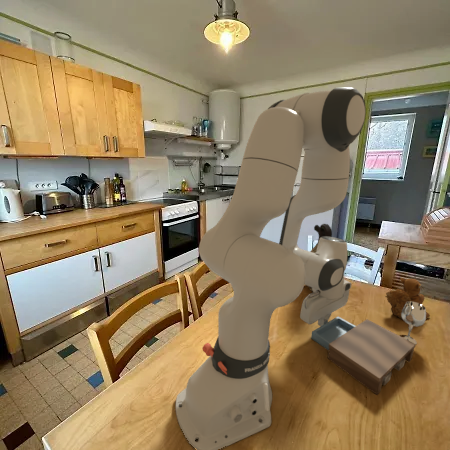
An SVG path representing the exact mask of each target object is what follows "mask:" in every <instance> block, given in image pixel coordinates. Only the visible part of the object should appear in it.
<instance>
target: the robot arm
mask: <svg viewBox="0 0 450 450" xmlns="http://www.w3.org/2000/svg"><path fill="white" fill-rule="evenodd" d="M366 111H367V109H366V102H365V99H364V96H363V95H362V93H361V92H360V91H359V90H358V89H357V88H354V87H349V86H348V87H345V86H343V87H334V88H333V89H330V90H329V89H327V90H319V91H315V92H305V93H302V94H298V95H295V96H292V97H290V98H287V99H280V100H279V101H276V102H275V103H273V104H271V105H270V106H268V108H267V109H265V110H264V111H262V113H260V114H259V116H258V117H257V118H256V121H255V124H254V125H253V128H252V130H251V132H250V135H249V138H248V140H247V143H246V146H245V150H244V153H243V157H242V161H241V165H240V169H239V172H238V177H237V180H236V183H235V187H234V190H233V194H232V197H231V200H230V201H229V203H228V206H227V208H226V209H225V211H224V213H223V214H222V216H221V218H220V220H219V221H218V222H217V223H216V224H215V225H214V226H213V227H212V228H210V229H208V230H207V231H206V232H205V233H204V234H203V236H202V238H201V240H200V241H199V245H198V252H199V257H200V259H201V260H202V261H203V263H204V264H205V265H206V266H207V268H209V270H210V271H211V272H213V273H214V274H216V275H217V276H218V277H220V278H221V279H223V280H224V281H227V283H229V284H230V286H231V288H232V291H233V296H231V297H229V298H228V299H226V300H225V302H224V303H222V305H221V306H220V308H219V310H218V314H217V316H218V317H217V318H218V321H217V322H218V328H217V329H218V333H217V334H218V336H217V338H216V340H215V344H214V346H213V347H212V345H211V344H210V343H209V342H206V343H205V344H203V346H202V352H203V353H204V354H205V355H206V356H207V357H208V358H207V359H206V360H205V361H204V362H203V363H202V364H201V365H200V366H199V367H198V368H197V369H196V370H195V371H194V372H193V373H192V375H190V377H189V378H188V380H187V383H186V388H184V389H183V390H182V391H180V392H179V393H178V394H176V399H175V414H176V419H177V422H178V425H179V427H180V429H182V430H181V431H183V432H182V433H184V434H183V435H185V436H184V437H185V439H186V438H187V439H186V441H187V440H188V441H189V442H188V441H187V442H188V443H189V445H190V444H191V445H192V446H193V447H194V448H196V449H197V450H218V449H220V450H221V448H222V449H224V448H226V447H228V446H230V445H233V444H235V443H236V442H239V441H241V440H243V439H246V438H248V437H250V436H251V435H252V436H253V435H255V434H257V433H259V432H261V431H263V430H265V429H268V428H269V427H270V426H271V424H272V414H271V413H272V412H271V406H272V401H273V392H272V388H271V387H272V386H271V385H270V378H269V367H268V365H269V362H270V356H271V344H270V340H269V338H270V337H269V335H270V325H271V319H272V315H273V313H274V312H275V310H276V309H279V308H283V307H285V306H288V305H289V304H292V302H294V301H295V300H297V298H299V296H300V295H301V293H302V291H303V290H304V287H305V286H306V287H308V286H310V287H312V290H313V291H314V292H313V291H312V292H311V293H309V294H308V295H307V296H306V297H304V299H303V301H302V304H301V309H300V314H299V317H300V319H301V320H302V321H303V322H304V323H306V324H308V325H313V324H314V323H316V322H317V325H318V326H319V327H321V326H322V325H324V324H326V323H328V322H329V321H330V318H331V316H332V314H333V312H336V311H337V310H340V309H341V308H343V307H344V306H346V305H347V303H348V300H349V297H350V296H349V295H350V289H351V288H352V282H350V281H349V280H346V279H345V276H344V275H345V271H346V269H347V263H348V244H347V241H345V240H344V239H341V238H338V237H334V236H332V237H328V236H323V237H321V238H320V240H319V243H318V242H317V243H318V247H317V252H316V253H313V252H310V251H311V250H310V251H309V250H305V249H302V248H300V247H299V245H298V241H299V236H300V232H301V228H302V223H303V221H304V219H305V218H307V217H309V216H313V215H317V214H323V213H326V212H329V211H331V210H333V209H335V208H337V207H338V206H339V205H340V204H342V202H343V201H344V200H345V198H346V195H347V193H348V188H349V179H350V171H351V170H350V166H351V165H350V164H351V162H350V161H351V160H350V159H351V158H350V157H351V154H350V145H351V144H352V143H354V141H355V140H356V139H357V138H358V136H359V135H360V134H361V132H362V130H363V128H364V125H365V120H366ZM303 151H304V156H303V160H302V168H301V177H300V178H301V179H300V184H299V187H298V190H297V192H296V193H295V194H294V195H293V196H292V194H293V191H294V186H295V185H296V184H295V183H296V180H297V175H298V172H299V168H300V165H301V164H300V163H301V158H302V153H303ZM282 215H284V217H283V223H282V227H281V228H282V229H281V231H280V232H281V233H280V237H279V243H278V242H275V241H273V240H270V239H266V238H264V237H261V235H262V233H263V231H264V229H265V227H266V226H267V225H268V223H270V221H271V220H273V219H275V218H279V217H280V216H282ZM196 439H198V440H196ZM195 440H196V441H195ZM191 445H190V446H191ZM192 446H191V447H192ZM225 446H226V447H225ZM193 447H192V448H193ZM223 447H224V448H223ZM194 448H193V449H194Z"/></svg>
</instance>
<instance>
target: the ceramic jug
mask: <svg viewBox="0 0 450 450" xmlns="http://www.w3.org/2000/svg"><path fill="white" fill-rule="evenodd" d="M313 230H314V231H316V233H317V235H318V239H317V243H316V244H315V245H314V247H312V249H311V250H310V252H313V253H316V252H317V247H318V243H319V240H320V238H321V237H323V236H328V237H333V231H332V227H331V226H330V225H329V224H328V223H322V224H321V225H318V224H315V225H314V226H313ZM307 287H308V289H309V291H311V292H312V293H313V292H314V291H313V290H312V287H310V286H307Z"/></svg>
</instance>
